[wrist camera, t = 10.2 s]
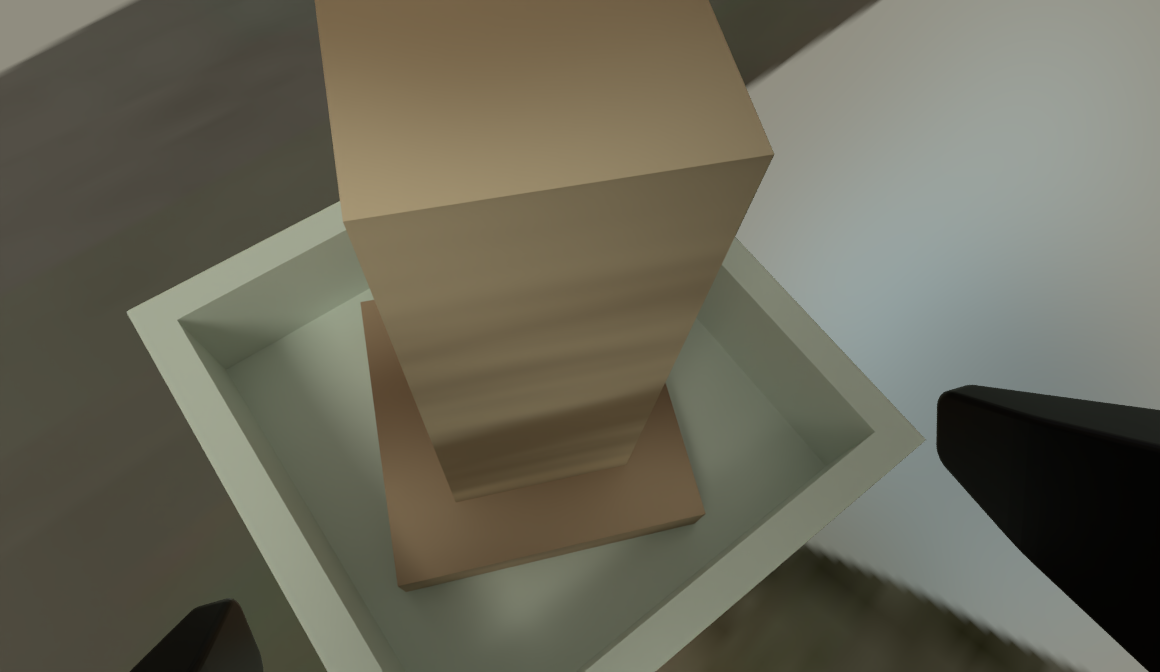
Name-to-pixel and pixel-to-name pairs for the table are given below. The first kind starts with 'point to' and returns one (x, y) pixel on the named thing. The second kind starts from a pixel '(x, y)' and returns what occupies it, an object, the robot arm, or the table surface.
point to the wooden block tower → (533, 259)
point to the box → (533, 590)
